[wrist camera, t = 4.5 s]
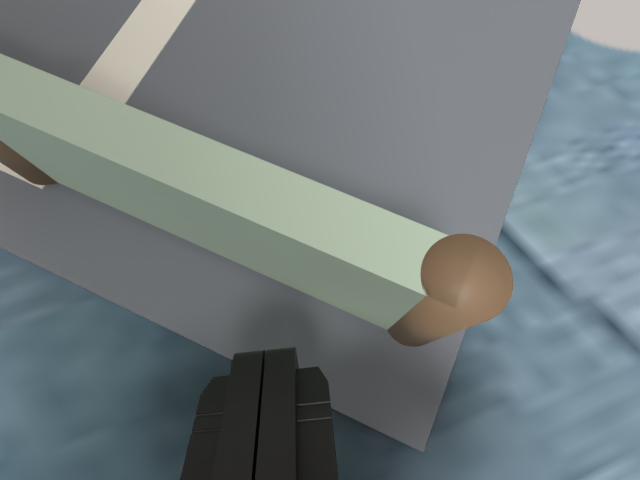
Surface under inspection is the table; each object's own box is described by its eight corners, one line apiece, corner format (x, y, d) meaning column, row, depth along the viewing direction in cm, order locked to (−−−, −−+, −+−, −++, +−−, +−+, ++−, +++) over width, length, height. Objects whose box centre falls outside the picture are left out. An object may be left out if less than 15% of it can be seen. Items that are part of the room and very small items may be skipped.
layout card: (420, 451, 15) (423, 452, 15) (-262, 120, 20) (-275, 114, 19) (584, -18, 21) (590, -26, 21) (36, -185, 26) (31, -194, 26)
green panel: (7, 172, 18) (-165, 59, 12) (41, 125, 19) (-104, -5, 12) (426, 361, 15) (494, 348, 9) (448, 299, 16) (527, 246, 10)
